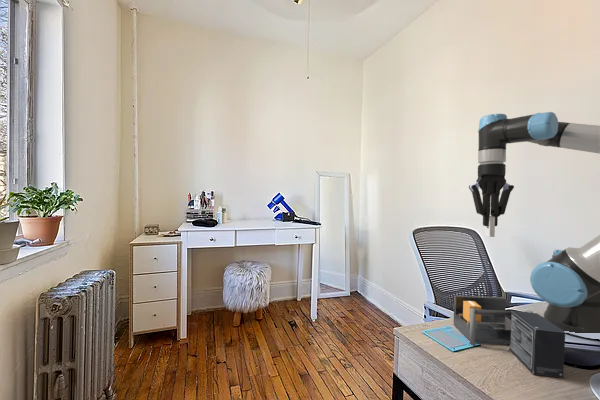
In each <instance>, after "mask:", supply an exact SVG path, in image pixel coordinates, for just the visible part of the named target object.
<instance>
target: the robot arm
mask: <svg viewBox="0 0 600 400" xmlns="http://www.w3.org/2000/svg"><path fill="white" fill-rule="evenodd" d="M477 133H478V150H477V151H478V152H477V163H478V166H477V179H476V182H475V183H473V184H469V185H468V189H469V190H470V192H471V194H472V198H473V203H474V206H475V212H476V214H478V215H481V216H482V226H484V232H485V233H484V235H485V237H489V238H495V233H496V230H495V227H497V226H498V222H499V221H498V220H499V219H498V218H499V217H500V216H502V215H505V213H506V210H507V206H508V202H509V199H510V195H511V192H512V191H513V190H514V189H515V186H514V185H512V184H509V183H508V182H507V179H506V177H505V176H506V169H507V168H506V167H507V166H506V164H505V163H506V161H507V145H508V144H516V143H524V142H526V143H532V144H536V145H539V146H543V147H554V148H561V149H565V150H566V149H567V150H574V151H580V152H587V153H593V154H600V125H597V124H596V125H595V124H587V123H586V124H585V123H576V122H565V121H559V118H558V117H557V115H556V113H555V112H552V111H548V112H537V113H533V114H527V115H524V116H523V115H522V116H517V117H513V118H508V115H507V114H505V113H492V114H491V113H490V114H487V115H484V116H482V117H481V118H480V119H479V123H478V130H477ZM479 190H481V193H480V191H479ZM501 190H502V191H501ZM481 196H482V197H481ZM529 278H530V280H529V281H530V285H531V288H532V290H533V291H534V293H535V294H536V295H537V296H538V297H539V298H540V299H542V300H543V301H544V302H546V303H548V304H547V307H546V309H545V311H543V318H545V319H546V320H548V321H549V322H551V323H552V324H554V325H555V326H557V327H558V328H560V329H561V330H563V331H569V332H575V333H600V234H599V235H598V236H596V237H594V238H593V239H591V240H590V241H588V242H587V243H585V244H583V245H581V247H571V246H570V247H567V248H565V249H555V250H553V253H552V255H551V258H550V259H549V260H547V261H545V262H541V263H539V264H537V265H536V266H535V267H534V268H533V269H532V271H531V273H530V276H529Z"/></svg>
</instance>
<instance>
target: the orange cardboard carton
mask: <svg viewBox="0 0 600 400" xmlns="http://www.w3.org/2000/svg"><path fill="white" fill-rule="evenodd" d="M470 308H474V309H479V310H481V306H480V305H478V304H477V303H476V302H474V301H463V318H464V319H465V320H467V321H470ZM475 322H481V314H476V316H475Z"/></svg>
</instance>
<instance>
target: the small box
mask: <svg viewBox="0 0 600 400" xmlns="http://www.w3.org/2000/svg"><path fill="white" fill-rule="evenodd" d="M510 311H511V316H510V320H511V335H510V345H509V351H510V352H511V353H512V355H514V357H516V358H517V359H518V361H519V362H520V363H521V364H522V365H523V366H524V367H525V368H526V369H527V370H528V371H529V372H530V373H531V374H532V375H538V376H543V377H544V376H545V377H546V376H547V377H552V378H553V377H554V378H559V379H560V378H563V379H564V377H565V376H564V373H565V372H564V370H565V350H566V349H565V345H566V343H565V342H566V333H565V332H564V331H563V330H561V329H560V328H558V327H557V326H555V325H554V324H552V323H551V322H549V321H548V320H546V319H545V318H544V316H542V315H540V314H538V313H535V312H533V313H528V312H527V311H523V312H519V311H520V310H510Z"/></svg>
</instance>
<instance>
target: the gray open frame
mask: <svg viewBox="0 0 600 400" xmlns="http://www.w3.org/2000/svg"><path fill="white" fill-rule="evenodd" d="M511 311H512V310H505V311H501V310H479V309H474V308H470V342H469V345H470V344H471V345H473V346H472V347H476V343H475V316H476V314H483V315H504V316H506V317H511ZM518 311H519V312H524V311H523V310H522V311H521V310H518ZM526 312H528V313H534V312H533V311H532V310H526ZM471 345H470V346H471Z"/></svg>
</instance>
